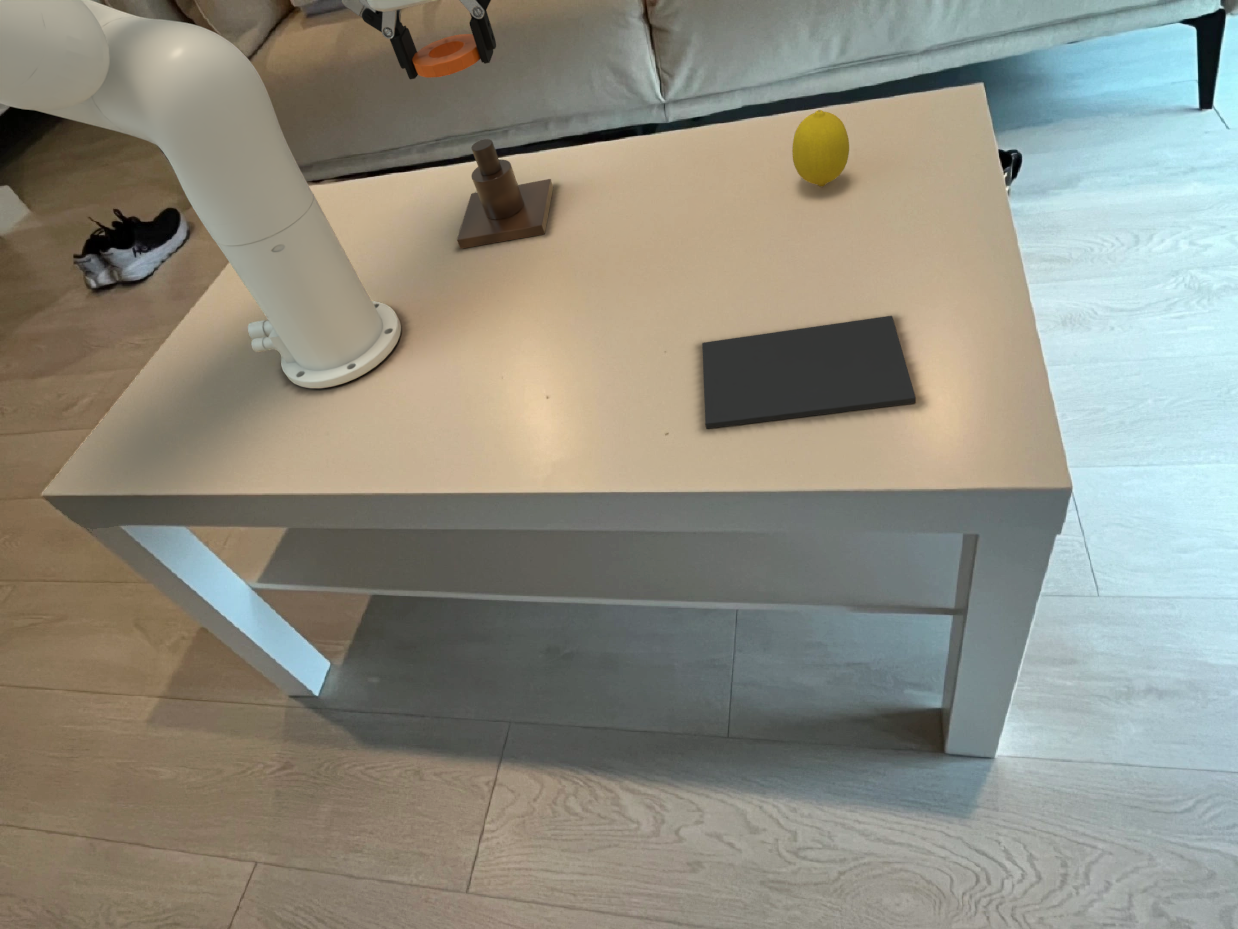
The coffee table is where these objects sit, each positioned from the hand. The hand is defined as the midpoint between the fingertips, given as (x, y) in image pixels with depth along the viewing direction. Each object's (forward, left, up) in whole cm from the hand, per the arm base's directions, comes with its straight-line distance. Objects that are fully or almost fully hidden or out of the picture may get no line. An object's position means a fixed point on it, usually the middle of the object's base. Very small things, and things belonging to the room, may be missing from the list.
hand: (451, 64), depth 81 cm
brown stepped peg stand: (0, +1, -18) cm, 18 cm away
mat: (+30, -32, -18) cm, 48 cm away
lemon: (+35, -4, -18) cm, 40 cm away
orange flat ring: (0, 0, 0) cm, 0 cm away
